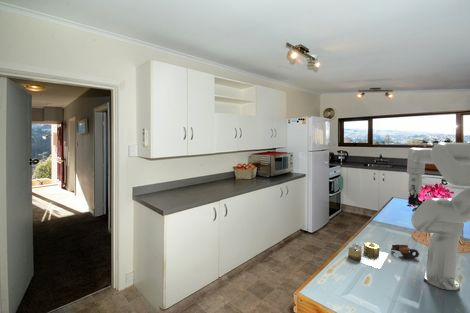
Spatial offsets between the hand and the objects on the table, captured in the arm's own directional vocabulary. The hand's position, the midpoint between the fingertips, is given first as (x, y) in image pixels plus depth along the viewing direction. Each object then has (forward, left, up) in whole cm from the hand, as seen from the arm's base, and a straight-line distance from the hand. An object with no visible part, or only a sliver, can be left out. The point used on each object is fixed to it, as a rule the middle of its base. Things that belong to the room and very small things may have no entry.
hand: (413, 202), depth 128 cm
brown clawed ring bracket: (-7, +5, -29) cm, 30 cm away
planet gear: (-9, +21, -27) cm, 35 cm away
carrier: (-13, +24, -28) cm, 39 cm away
